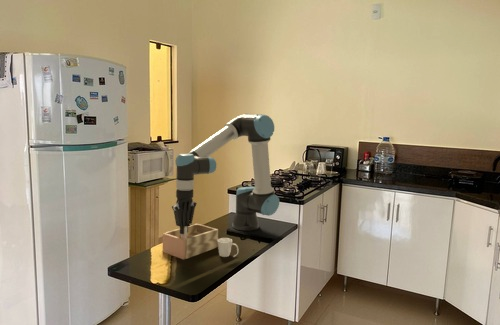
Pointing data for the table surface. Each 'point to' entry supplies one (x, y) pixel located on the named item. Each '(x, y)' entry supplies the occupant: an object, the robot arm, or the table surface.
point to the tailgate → (174, 246)
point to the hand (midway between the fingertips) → (183, 240)
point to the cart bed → (198, 239)
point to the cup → (225, 247)
